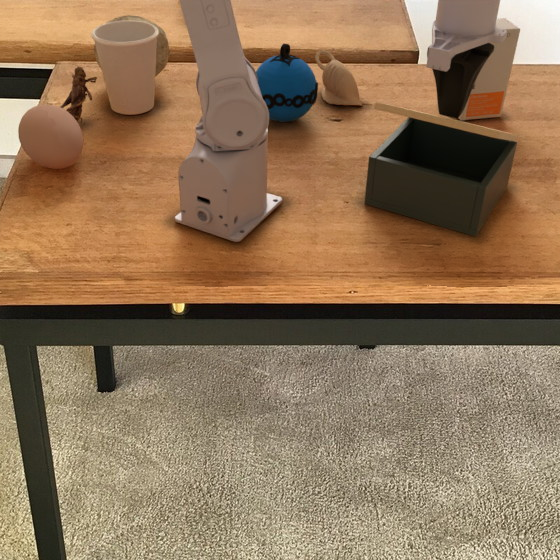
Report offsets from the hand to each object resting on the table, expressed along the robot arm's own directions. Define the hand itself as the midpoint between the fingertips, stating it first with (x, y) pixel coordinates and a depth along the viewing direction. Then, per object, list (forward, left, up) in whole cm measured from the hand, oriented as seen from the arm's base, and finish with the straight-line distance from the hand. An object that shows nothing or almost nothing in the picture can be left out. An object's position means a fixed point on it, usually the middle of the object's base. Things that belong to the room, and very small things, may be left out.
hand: (450, 114), depth 80 cm
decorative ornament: (+18, +21, -10) cm, 29 cm away
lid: (0, 0, -1) cm, 1 cm away
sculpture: (+9, +47, -10) cm, 49 cm away
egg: (-14, +46, -6) cm, 48 cm away
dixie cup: (+1, +43, -10) cm, 44 cm away
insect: (-4, +46, -8) cm, 47 cm away
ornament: (+8, +24, -10) cm, 27 cm away
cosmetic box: (+23, +3, -10) cm, 25 cm away
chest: (0, 0, -10) cm, 10 cm away
